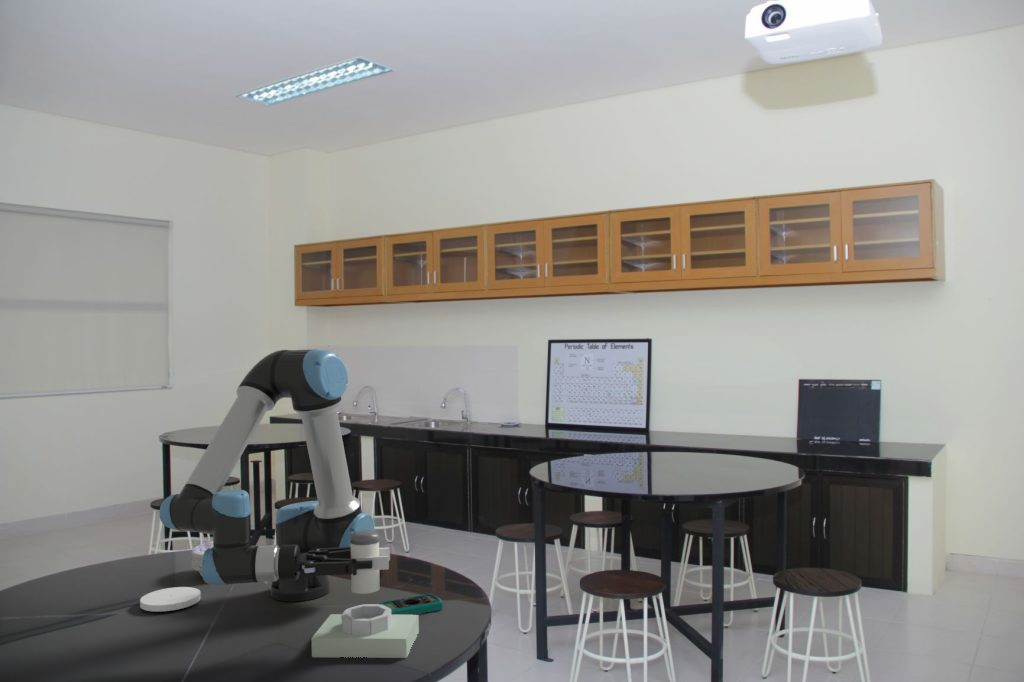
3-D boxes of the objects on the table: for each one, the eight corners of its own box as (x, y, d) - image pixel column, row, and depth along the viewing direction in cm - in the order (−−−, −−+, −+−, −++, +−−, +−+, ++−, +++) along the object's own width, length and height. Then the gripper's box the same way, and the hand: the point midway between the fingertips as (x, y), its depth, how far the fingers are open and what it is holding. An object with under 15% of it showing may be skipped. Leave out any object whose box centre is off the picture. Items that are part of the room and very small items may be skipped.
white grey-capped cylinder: (354, 584, 177) (354, 530, 177) (382, 584, 177) (382, 530, 177) (347, 593, 171) (346, 537, 171) (376, 594, 171) (375, 537, 171)
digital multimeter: (445, 611, 195) (445, 599, 195) (386, 622, 188) (386, 610, 188) (434, 602, 202) (433, 591, 202) (376, 613, 195) (376, 601, 195)
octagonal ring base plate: (331, 631, 182) (330, 601, 182) (418, 632, 181) (418, 601, 181) (311, 657, 168) (311, 623, 168) (406, 658, 167) (405, 624, 167)
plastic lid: (177, 593, 212) (177, 583, 212) (212, 602, 205) (212, 592, 205) (128, 609, 200) (128, 599, 200) (163, 619, 193) (163, 609, 193)
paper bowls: (238, 582, 219) (237, 553, 219) (182, 583, 219) (181, 554, 219) (256, 566, 234) (255, 538, 234) (204, 566, 235) (203, 539, 235)
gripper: (287, 567, 182) (391, 563, 184) (271, 595, 163) (387, 589, 165) (286, 534, 181) (390, 530, 184) (270, 558, 163) (386, 552, 165)
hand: (388, 558), depth 175 cm, fingers closed on white grey-capped cylinder, 6 cm apart
